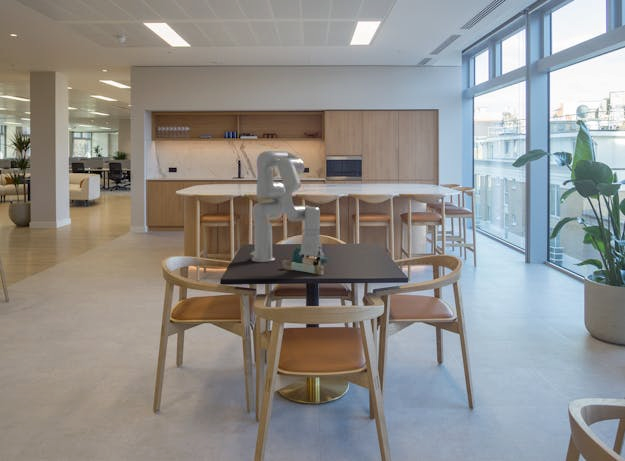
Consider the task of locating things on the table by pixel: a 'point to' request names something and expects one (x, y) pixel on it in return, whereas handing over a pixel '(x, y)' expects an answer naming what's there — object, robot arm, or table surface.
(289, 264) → the oak fence
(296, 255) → the bracket
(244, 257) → the table surface
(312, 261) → the block
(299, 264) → the sage gate
